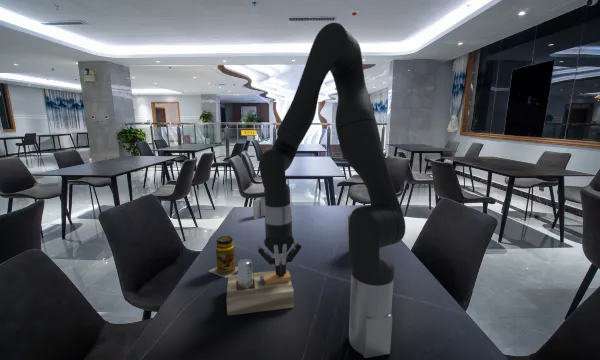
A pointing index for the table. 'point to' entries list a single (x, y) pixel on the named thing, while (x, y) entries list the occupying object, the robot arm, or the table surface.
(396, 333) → the table surface
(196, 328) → the table surface
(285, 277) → the latch arm
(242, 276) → the steel peg
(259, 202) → the hinge
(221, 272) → the condiment
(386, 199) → the robot arm
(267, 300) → the birch block
